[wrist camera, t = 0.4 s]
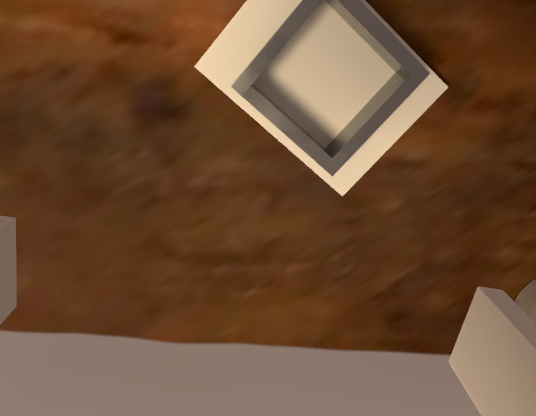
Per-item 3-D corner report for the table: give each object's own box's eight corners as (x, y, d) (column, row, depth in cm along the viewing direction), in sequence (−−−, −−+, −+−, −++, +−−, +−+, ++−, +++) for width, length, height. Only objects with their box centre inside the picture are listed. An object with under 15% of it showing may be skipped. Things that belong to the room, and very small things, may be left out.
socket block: (195, 66, 36) (188, 68, 31) (299, -64, 33) (306, -81, 29) (340, 192, 39) (350, 210, 35) (443, 86, 37) (468, 91, 32)
